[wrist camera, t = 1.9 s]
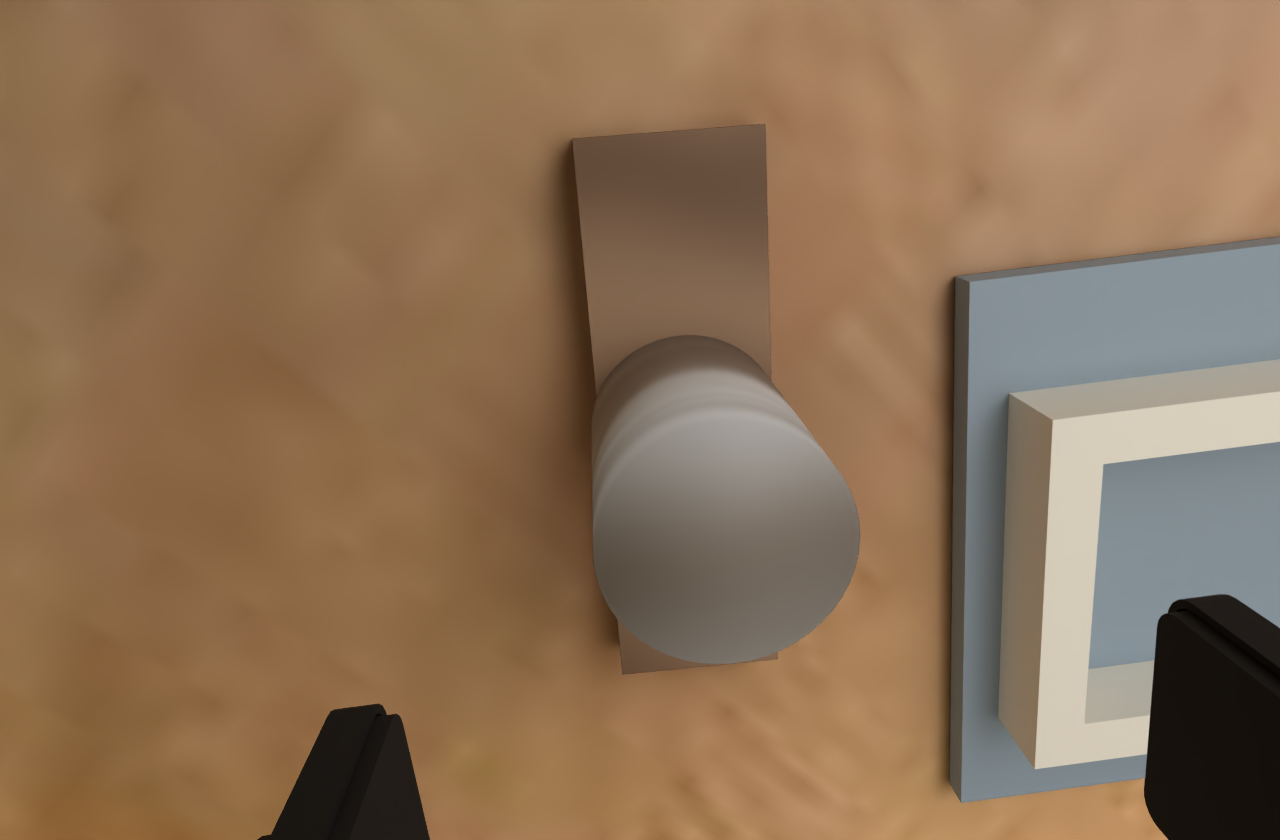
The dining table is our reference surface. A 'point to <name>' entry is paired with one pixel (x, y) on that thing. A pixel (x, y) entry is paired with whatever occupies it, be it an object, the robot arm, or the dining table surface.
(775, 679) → the dining table surface
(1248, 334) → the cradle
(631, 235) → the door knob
